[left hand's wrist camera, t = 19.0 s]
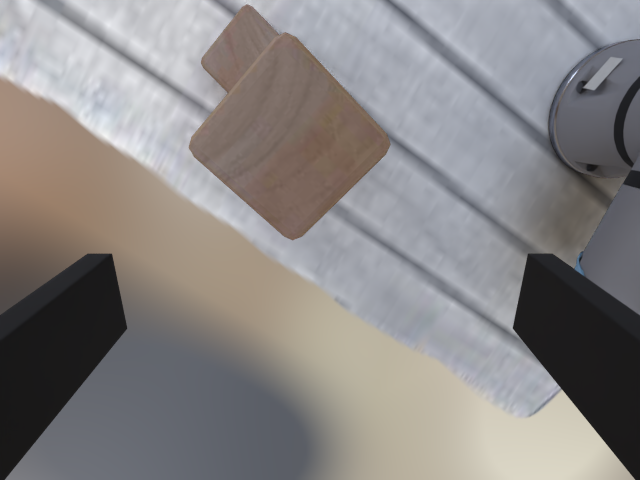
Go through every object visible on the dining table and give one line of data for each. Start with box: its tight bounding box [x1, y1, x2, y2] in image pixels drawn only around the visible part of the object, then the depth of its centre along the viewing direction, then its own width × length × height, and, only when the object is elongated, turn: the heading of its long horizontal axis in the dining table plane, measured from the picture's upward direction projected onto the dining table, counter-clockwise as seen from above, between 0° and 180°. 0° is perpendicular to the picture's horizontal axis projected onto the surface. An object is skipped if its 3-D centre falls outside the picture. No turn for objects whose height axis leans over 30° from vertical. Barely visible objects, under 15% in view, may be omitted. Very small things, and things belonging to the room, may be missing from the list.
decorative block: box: [189, 5, 390, 240], centre depth 32 cm, size 8×15×30 cm, turn 46°
